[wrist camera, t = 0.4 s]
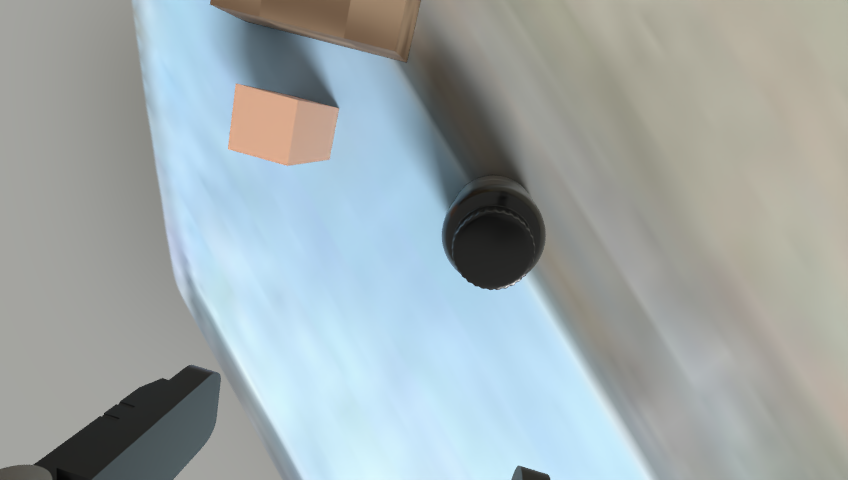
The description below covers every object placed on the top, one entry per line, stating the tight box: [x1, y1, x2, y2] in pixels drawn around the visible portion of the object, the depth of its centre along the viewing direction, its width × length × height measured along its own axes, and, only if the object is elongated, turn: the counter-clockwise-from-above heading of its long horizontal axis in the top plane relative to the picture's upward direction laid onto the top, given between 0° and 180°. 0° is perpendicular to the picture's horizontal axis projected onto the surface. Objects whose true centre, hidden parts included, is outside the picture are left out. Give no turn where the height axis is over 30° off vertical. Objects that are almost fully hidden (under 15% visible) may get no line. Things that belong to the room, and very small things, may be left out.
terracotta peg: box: [228, 84, 339, 166], centre depth 32 cm, size 4×4×8 cm
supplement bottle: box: [442, 175, 546, 290], centre depth 29 cm, size 7×7×12 cm
